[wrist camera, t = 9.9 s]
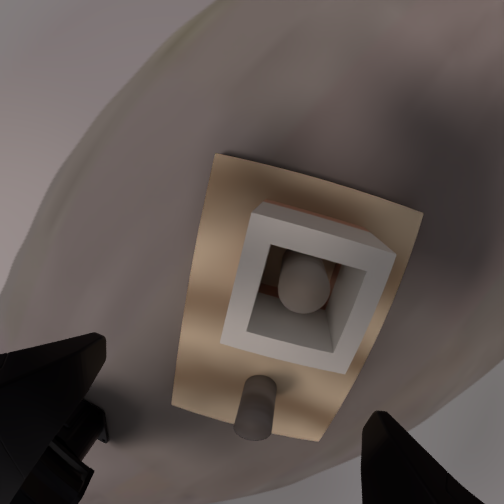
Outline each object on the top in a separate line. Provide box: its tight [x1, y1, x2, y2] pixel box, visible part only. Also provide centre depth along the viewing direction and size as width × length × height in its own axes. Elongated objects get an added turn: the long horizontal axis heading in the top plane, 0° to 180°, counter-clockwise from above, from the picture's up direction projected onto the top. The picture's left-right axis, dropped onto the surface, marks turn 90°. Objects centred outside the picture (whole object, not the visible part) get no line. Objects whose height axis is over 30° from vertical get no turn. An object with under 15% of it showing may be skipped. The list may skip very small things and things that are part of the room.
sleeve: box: [220, 199, 397, 374], centre depth 15 cm, size 6×6×6 cm
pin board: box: [171, 153, 424, 442], centre depth 18 cm, size 20×13×6 cm, turn 166°
